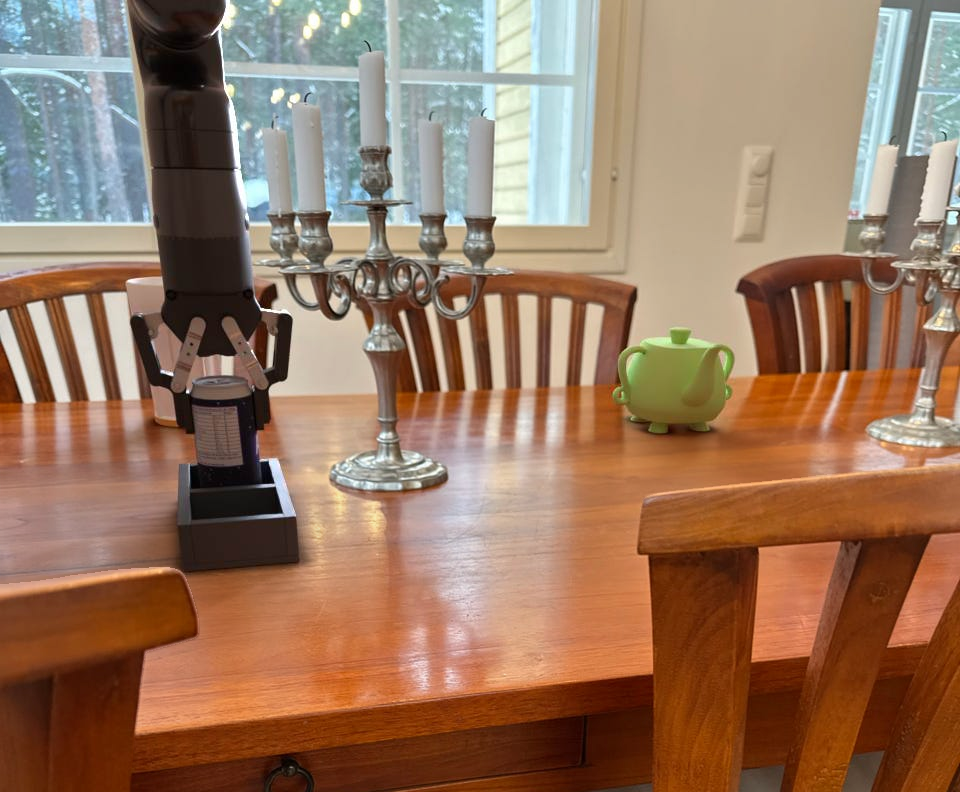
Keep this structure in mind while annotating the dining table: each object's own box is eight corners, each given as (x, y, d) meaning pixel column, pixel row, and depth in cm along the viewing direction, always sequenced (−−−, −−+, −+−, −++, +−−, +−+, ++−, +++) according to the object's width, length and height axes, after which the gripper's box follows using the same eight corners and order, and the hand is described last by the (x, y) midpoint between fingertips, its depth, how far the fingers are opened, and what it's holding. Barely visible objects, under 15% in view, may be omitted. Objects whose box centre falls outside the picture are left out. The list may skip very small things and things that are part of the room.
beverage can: (273, 510, 85) (262, 382, 80) (216, 521, 83) (200, 389, 77) (250, 494, 90) (238, 372, 84) (194, 504, 87) (178, 377, 81)
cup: (127, 424, 117) (104, 281, 109) (182, 406, 126) (164, 274, 118) (199, 433, 114) (181, 287, 106) (250, 414, 123) (237, 279, 115)
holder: (183, 572, 74) (177, 525, 72) (184, 503, 89) (178, 463, 87) (299, 561, 76) (296, 516, 74) (280, 497, 92) (277, 457, 90)
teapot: (750, 426, 123) (766, 330, 117) (707, 446, 113) (721, 341, 107) (646, 408, 132) (655, 317, 126) (596, 424, 122) (605, 327, 116)
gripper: (285, 228, 80) (299, 417, 88) (114, 227, 76) (144, 424, 84) (294, 233, 74) (308, 436, 81) (108, 232, 70) (141, 445, 78)
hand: (225, 429), depth 83 cm, fingers closed on beverage can, 5 cm apart
